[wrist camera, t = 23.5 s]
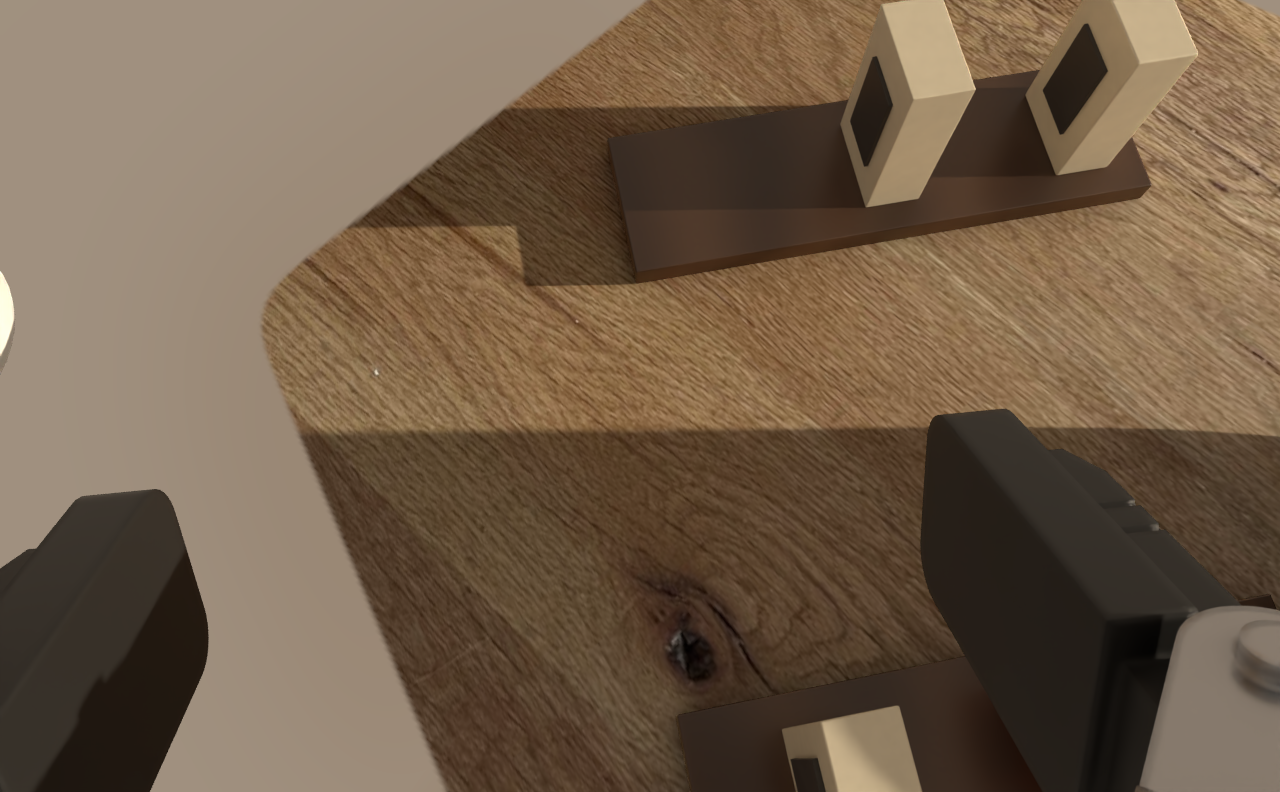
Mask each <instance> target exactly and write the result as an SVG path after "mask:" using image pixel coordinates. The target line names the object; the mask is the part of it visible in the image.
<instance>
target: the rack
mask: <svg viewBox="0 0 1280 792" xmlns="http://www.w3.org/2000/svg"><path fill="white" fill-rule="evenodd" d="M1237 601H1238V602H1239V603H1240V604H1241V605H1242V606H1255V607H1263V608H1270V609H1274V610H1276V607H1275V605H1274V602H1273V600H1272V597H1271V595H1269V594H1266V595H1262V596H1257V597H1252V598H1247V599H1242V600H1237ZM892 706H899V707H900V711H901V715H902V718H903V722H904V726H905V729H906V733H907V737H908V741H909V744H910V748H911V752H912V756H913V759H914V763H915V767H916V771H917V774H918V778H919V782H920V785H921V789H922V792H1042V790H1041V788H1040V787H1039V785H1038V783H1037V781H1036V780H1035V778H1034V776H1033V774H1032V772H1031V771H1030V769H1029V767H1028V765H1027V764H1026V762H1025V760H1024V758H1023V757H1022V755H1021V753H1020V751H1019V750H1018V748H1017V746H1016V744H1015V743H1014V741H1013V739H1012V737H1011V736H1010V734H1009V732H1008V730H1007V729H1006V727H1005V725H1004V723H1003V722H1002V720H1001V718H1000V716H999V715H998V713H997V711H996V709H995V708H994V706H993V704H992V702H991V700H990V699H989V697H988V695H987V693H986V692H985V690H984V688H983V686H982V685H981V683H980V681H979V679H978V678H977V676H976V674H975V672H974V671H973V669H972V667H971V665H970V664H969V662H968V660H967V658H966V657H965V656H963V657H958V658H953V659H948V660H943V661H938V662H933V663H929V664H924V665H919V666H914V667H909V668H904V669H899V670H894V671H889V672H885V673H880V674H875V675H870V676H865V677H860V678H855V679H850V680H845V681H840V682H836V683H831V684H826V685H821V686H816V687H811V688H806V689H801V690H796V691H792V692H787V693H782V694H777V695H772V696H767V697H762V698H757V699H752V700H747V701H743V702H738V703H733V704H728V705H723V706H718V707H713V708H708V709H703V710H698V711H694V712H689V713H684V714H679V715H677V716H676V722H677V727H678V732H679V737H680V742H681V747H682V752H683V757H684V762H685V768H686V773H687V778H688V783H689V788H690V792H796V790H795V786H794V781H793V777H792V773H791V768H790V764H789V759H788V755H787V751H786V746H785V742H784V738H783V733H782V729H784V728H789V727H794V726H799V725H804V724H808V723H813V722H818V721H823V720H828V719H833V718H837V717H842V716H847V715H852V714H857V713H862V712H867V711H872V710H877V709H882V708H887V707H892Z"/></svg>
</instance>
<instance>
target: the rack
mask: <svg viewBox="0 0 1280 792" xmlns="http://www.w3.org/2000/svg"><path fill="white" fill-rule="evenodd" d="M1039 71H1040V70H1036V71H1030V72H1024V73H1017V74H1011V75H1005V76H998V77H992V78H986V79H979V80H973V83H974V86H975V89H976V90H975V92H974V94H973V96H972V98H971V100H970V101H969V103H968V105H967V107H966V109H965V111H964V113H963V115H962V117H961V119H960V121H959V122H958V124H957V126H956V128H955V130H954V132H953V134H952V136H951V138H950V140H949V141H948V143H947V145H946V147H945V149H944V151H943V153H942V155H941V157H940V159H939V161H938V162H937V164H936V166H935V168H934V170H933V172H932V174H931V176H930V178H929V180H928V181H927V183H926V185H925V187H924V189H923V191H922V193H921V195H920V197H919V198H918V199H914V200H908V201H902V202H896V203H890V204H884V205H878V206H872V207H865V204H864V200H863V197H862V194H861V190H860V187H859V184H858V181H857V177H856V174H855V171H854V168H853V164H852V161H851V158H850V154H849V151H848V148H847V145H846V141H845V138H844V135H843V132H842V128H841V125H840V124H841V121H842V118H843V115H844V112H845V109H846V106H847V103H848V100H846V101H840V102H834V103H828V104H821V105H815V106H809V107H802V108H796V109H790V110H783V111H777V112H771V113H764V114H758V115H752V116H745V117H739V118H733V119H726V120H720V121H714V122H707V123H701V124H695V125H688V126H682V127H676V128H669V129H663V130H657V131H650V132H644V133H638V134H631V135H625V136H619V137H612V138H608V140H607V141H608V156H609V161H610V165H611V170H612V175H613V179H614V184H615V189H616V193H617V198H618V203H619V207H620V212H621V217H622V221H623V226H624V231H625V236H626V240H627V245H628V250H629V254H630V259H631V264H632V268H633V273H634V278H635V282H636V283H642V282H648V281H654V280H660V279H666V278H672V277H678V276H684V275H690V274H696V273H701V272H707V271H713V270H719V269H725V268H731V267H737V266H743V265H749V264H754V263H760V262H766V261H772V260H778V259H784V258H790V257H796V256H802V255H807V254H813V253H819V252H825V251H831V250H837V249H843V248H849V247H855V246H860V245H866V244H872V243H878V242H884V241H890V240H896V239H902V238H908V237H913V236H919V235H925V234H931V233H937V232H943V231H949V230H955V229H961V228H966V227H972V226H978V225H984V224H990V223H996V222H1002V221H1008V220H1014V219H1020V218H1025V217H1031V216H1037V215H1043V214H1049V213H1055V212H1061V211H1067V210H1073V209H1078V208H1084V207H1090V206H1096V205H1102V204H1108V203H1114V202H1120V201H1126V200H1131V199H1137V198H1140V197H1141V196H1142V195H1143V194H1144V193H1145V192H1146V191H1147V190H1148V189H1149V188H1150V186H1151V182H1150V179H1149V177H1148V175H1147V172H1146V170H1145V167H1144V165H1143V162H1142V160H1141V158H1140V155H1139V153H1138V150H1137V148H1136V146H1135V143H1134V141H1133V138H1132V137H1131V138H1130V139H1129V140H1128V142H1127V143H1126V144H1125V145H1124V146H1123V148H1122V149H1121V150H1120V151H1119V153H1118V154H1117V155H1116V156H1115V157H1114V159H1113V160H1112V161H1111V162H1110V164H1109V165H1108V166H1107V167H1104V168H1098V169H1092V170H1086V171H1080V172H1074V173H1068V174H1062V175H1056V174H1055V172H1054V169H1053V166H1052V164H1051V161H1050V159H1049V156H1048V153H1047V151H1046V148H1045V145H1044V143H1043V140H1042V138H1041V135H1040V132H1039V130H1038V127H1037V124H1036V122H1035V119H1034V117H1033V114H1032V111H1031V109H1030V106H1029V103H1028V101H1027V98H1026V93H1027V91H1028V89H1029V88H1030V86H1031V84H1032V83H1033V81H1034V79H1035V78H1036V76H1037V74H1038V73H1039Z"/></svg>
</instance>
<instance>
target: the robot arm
mask: <svg viewBox="0 0 1280 792" xmlns="http://www.w3.org/2000/svg"><path fill="white" fill-rule="evenodd" d="M920 546H921V559H922V566H923V571H924V576H925V580H926V583H927V586H928V589H929V592H930V594H931V596H932V598H933V600H934V602H935V604H936V606H937V607H938V609H939V611H940V613H941V614H942V616H943V618H944V620H945V621H946V623H947V625H948V627H949V628H950V630H951V632H952V634H953V636H954V637H955V639H956V641H957V643H958V644H959V646H960V648H961V650H962V651H963V653H964V655H965V657H966V658H967V660H968V662H969V664H970V665H971V667H972V669H973V671H974V672H975V674H976V676H977V678H978V679H979V681H980V683H981V685H982V686H983V688H984V690H985V692H986V693H987V695H988V697H989V699H990V700H991V702H992V704H993V706H994V708H995V709H996V711H997V713H998V715H999V716H1000V718H1001V720H1002V722H1003V723H1004V725H1005V727H1006V729H1007V730H1008V732H1009V734H1010V736H1011V737H1012V739H1013V741H1014V743H1015V744H1016V746H1017V748H1018V750H1019V751H1020V753H1021V755H1022V757H1023V758H1024V760H1025V762H1026V764H1027V765H1028V767H1029V769H1030V771H1031V772H1032V774H1033V776H1034V778H1035V780H1036V781H1037V783H1038V785H1039V787H1040V788H1041V790H1042V792H1280V611H1279V610H1274V609H1270V608H1263V607H1255V606H1242V605H1241V604H1240V603H1239V602H1238V601H1237V600H1236V599H1235V598H1234V597H1233V596H1232V595H1231V594H1230V593H1229V592H1228V591H1227V590H1226V589H1225V588H1224V587H1223V586H1222V585H1221V584H1220V583H1219V582H1218V581H1217V580H1216V579H1215V578H1214V577H1213V576H1212V575H1211V574H1210V573H1209V572H1208V571H1207V570H1205V569H1204V568H1203V567H1202V566H1201V565H1200V564H1199V563H1198V562H1197V561H1196V560H1195V559H1194V558H1193V557H1192V556H1191V555H1190V554H1189V553H1188V552H1187V551H1186V550H1185V549H1184V548H1183V547H1182V546H1181V545H1180V544H1179V543H1178V542H1177V541H1176V540H1175V539H1174V538H1173V537H1172V536H1171V535H1170V534H1169V533H1168V532H1167V531H1166V530H1160V529H1159V523H1158V522H1157V521H1156V520H1155V519H1154V518H1153V517H1152V516H1151V515H1150V514H1149V513H1148V512H1147V511H1146V510H1145V509H1144V508H1143V507H1142V506H1141V505H1139V506H1136V505H1135V499H1134V498H1133V497H1132V496H1131V495H1130V494H1129V493H1128V492H1127V491H1126V490H1125V489H1123V488H1122V487H1121V486H1120V485H1119V484H1118V483H1117V482H1116V481H1115V480H1114V479H1113V478H1112V477H1111V476H1110V475H1109V474H1108V473H1107V472H1106V471H1105V470H1103V469H1101V468H1099V467H1097V466H1095V465H1093V464H1091V463H1089V462H1087V461H1085V460H1083V459H1081V458H1079V457H1077V456H1075V455H1073V454H1071V453H1069V452H1067V451H1065V450H1063V449H1055V450H1047V449H1046V448H1045V447H1044V446H1043V445H1042V444H1041V443H1040V441H1039V440H1038V439H1037V438H1036V437H1035V436H1034V435H1033V434H1032V433H1031V432H1030V431H1029V430H1028V429H1027V428H1026V427H1025V426H1024V425H1023V423H1022V422H1021V421H1020V420H1019V419H1018V418H1017V417H1016V416H1015V415H1014V414H1013V413H1012V412H1011V411H1009V410H1007V409H996V410H986V411H975V412H965V413H955V414H944V415H937V416H935V417H934V418H933V419H932V421H931V423H930V426H929V429H928V434H927V446H926V461H925V476H924V492H923V507H922V523H921V540H920ZM207 653H208V623H207V618H206V613H205V609H204V605H203V602H202V599H201V595H200V592H199V589H198V586H197V582H196V579H195V576H194V573H193V569H192V566H191V563H190V559H189V556H188V553H187V550H186V546H185V543H184V540H183V536H182V533H181V530H180V526H179V523H178V520H177V517H176V514H175V511H174V508H173V505H172V503H171V501H170V500H169V498H168V497H167V495H166V494H165V493H164V492H162V491H161V490H157V489H152V490H142V491H132V492H121V493H111V494H101V495H90V496H83V497H80V498H78V499H77V500H75V501H74V503H73V504H72V505H71V506H70V507H69V509H68V510H67V511H66V512H65V514H64V515H63V516H62V517H61V519H60V520H59V521H58V522H57V524H56V525H55V526H54V527H53V528H52V530H51V531H50V532H49V534H48V535H47V536H46V537H45V538H44V540H43V541H42V542H41V543H40V545H39V546H38V547H37V548H36V549H28V550H26V551H25V552H23V553H22V554H21V555H19V556H18V557H16V558H15V559H13V560H12V561H10V562H9V563H8V564H6V565H5V566H3V567H2V568H1V569H0V792H150V790H151V788H152V785H153V783H154V781H155V779H156V777H157V774H158V772H159V770H160V768H161V765H162V763H163V761H164V759H165V756H166V754H167V752H168V749H169V748H170V745H171V743H172V741H173V738H174V737H175V734H176V732H177V730H178V727H179V725H180V723H181V721H182V719H183V716H184V714H185V712H186V710H187V707H188V705H189V703H190V701H191V699H192V696H193V694H194V692H195V690H196V688H197V685H198V683H199V681H200V679H201V676H202V674H203V671H204V668H205V665H206V660H207Z"/></svg>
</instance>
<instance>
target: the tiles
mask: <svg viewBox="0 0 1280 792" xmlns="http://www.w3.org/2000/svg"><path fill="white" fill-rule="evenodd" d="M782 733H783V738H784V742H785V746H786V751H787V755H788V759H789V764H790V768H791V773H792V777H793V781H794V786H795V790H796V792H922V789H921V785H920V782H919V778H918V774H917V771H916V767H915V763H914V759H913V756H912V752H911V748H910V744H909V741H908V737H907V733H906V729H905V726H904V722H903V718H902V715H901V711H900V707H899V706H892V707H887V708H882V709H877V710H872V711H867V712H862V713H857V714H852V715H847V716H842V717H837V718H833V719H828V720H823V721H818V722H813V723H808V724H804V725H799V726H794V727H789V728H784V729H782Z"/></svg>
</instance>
